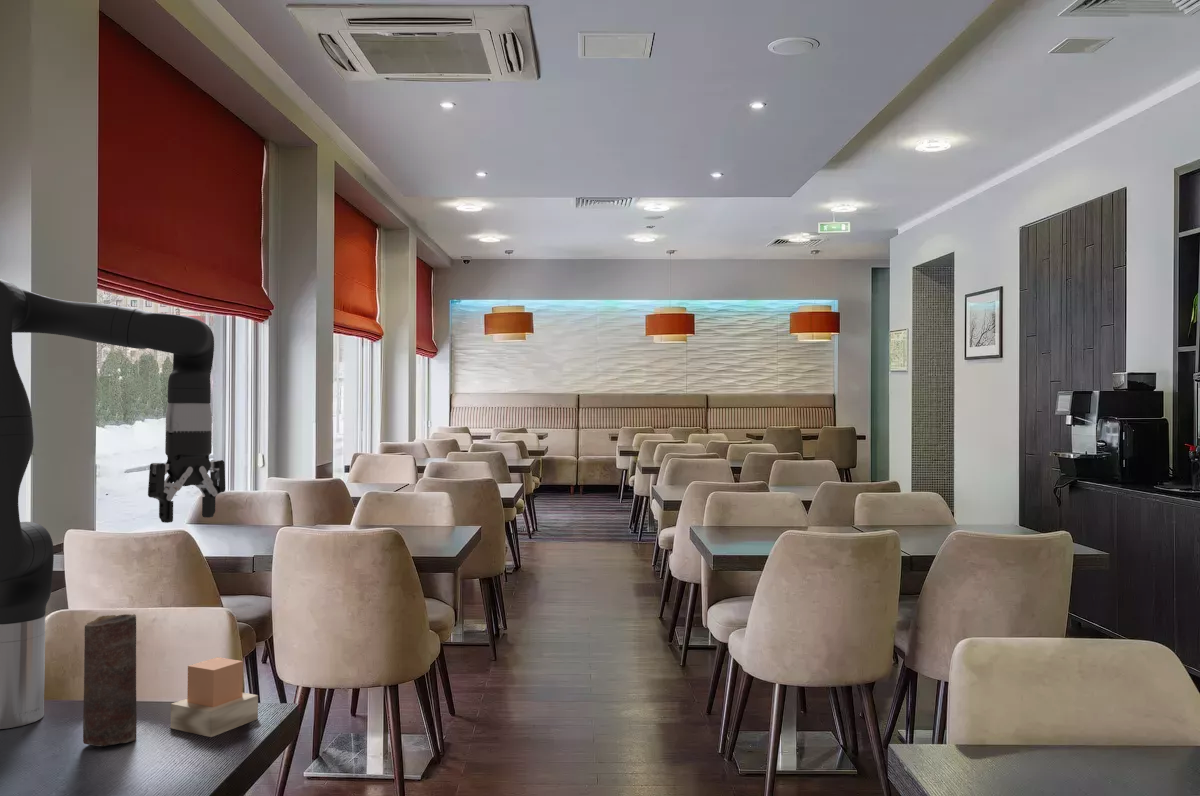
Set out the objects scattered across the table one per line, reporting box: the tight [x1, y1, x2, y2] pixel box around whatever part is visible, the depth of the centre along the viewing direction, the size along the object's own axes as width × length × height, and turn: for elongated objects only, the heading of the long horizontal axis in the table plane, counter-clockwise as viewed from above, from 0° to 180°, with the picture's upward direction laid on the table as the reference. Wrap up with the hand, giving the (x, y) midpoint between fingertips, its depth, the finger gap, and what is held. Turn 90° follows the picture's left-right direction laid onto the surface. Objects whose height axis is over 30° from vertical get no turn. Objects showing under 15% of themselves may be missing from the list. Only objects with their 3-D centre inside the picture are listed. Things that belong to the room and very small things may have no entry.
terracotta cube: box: [186, 656, 244, 707], centre depth 147 cm, size 6×6×6 cm
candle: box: [82, 613, 138, 747], centre depth 138 cm, size 8×7×20 cm
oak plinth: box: [170, 692, 259, 738], centre depth 147 cm, size 10×10×4 cm
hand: (187, 519), depth 157 cm, fingers open, 8 cm apart
